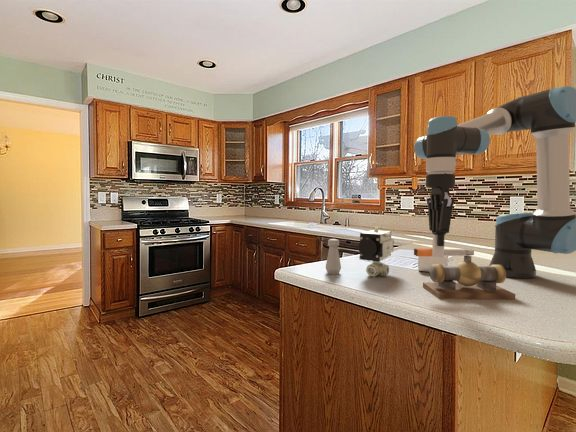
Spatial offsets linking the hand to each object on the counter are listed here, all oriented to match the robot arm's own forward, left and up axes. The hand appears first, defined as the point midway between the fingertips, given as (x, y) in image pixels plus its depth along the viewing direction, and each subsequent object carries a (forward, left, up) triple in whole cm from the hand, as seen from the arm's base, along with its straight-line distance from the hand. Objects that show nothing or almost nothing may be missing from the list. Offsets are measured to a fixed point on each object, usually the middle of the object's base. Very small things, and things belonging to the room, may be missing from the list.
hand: (438, 256), depth 97 cm
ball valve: (+10, -29, -13) cm, 33 cm away
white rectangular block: (-14, -37, -13) cm, 41 cm away
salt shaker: (+26, -31, -13) cm, 42 cm away
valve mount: (-12, -7, -12) cm, 18 cm away
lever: (-5, -7, -1) cm, 8 cm away
